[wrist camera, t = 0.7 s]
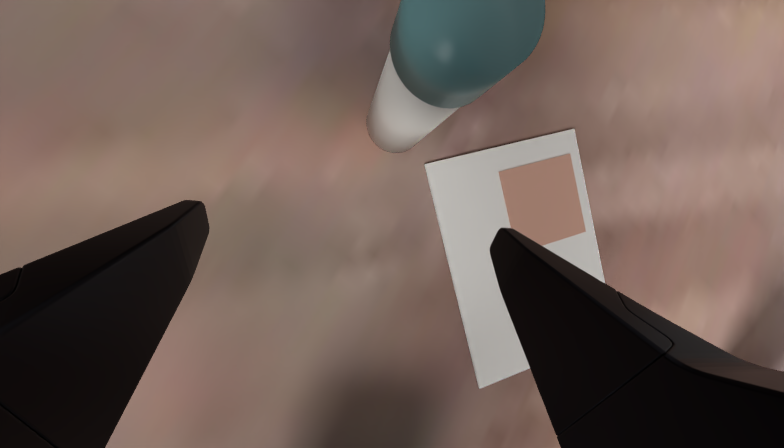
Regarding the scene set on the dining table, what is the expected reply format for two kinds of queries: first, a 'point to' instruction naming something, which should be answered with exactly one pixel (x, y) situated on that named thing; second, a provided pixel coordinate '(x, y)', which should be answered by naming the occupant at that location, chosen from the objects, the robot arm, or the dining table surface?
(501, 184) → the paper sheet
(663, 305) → the dining table surface
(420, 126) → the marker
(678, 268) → the dining table surface
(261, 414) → the dining table surface
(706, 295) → the dining table surface
